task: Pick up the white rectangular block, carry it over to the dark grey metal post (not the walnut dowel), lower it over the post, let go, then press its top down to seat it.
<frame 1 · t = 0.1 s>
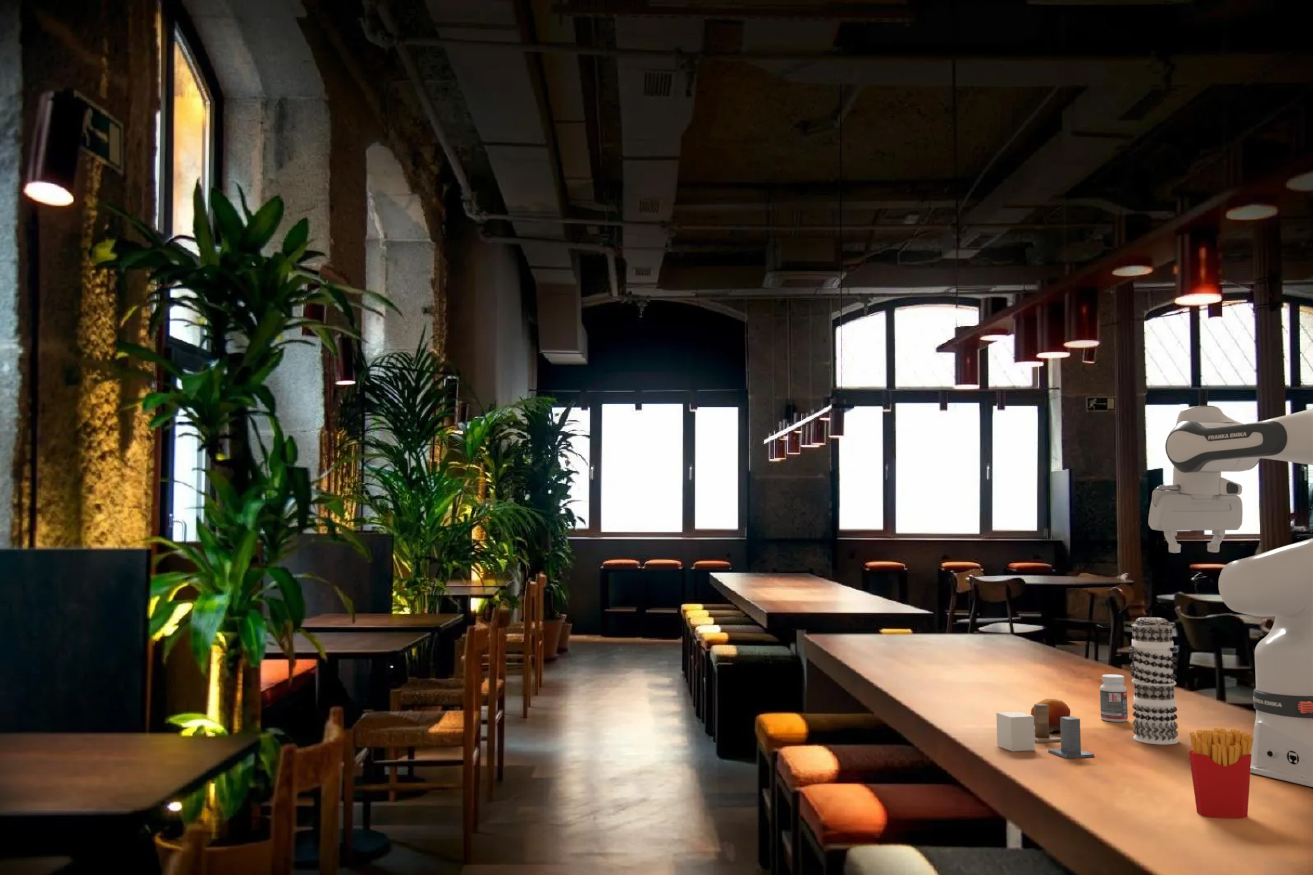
hand: (1193, 552, 225), 39 cm above the table, tool pointing down, fingers open, 8 cm apart
walnut dowel: (1042, 739, 228), on the table
fruit: (1051, 732, 237), on the table
post: (1070, 754, 214), on the table
french fries: (1223, 815, 172), on the table
white rectangular block: (1015, 747, 220), on the table
pill bottle: (1114, 721, 249), on the table
decorative candle: (1155, 741, 227), on the table
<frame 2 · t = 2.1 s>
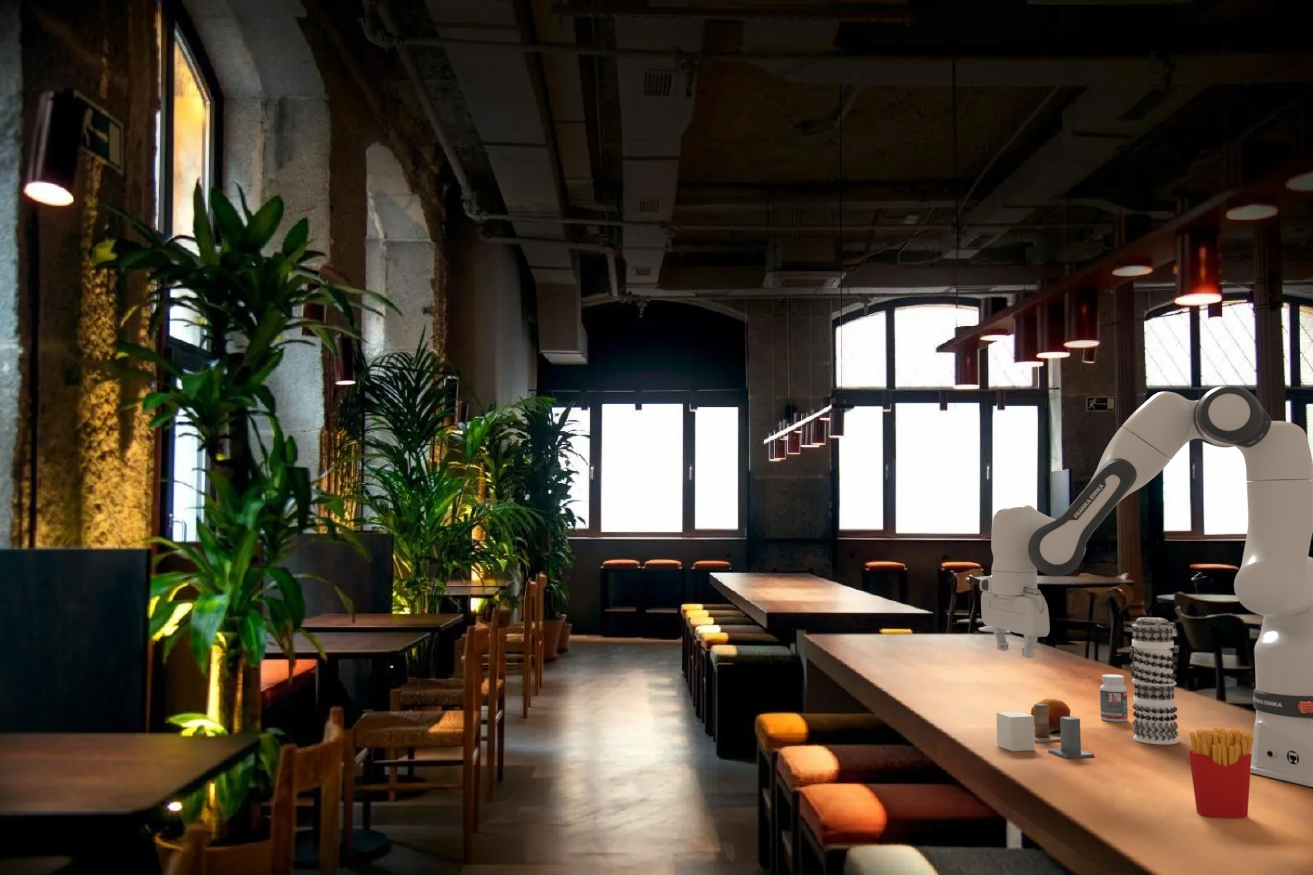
hand: (1015, 653, 222), 18 cm above the table, tool pointing down, fingers open, 8 cm apart
nothing on the table moved.
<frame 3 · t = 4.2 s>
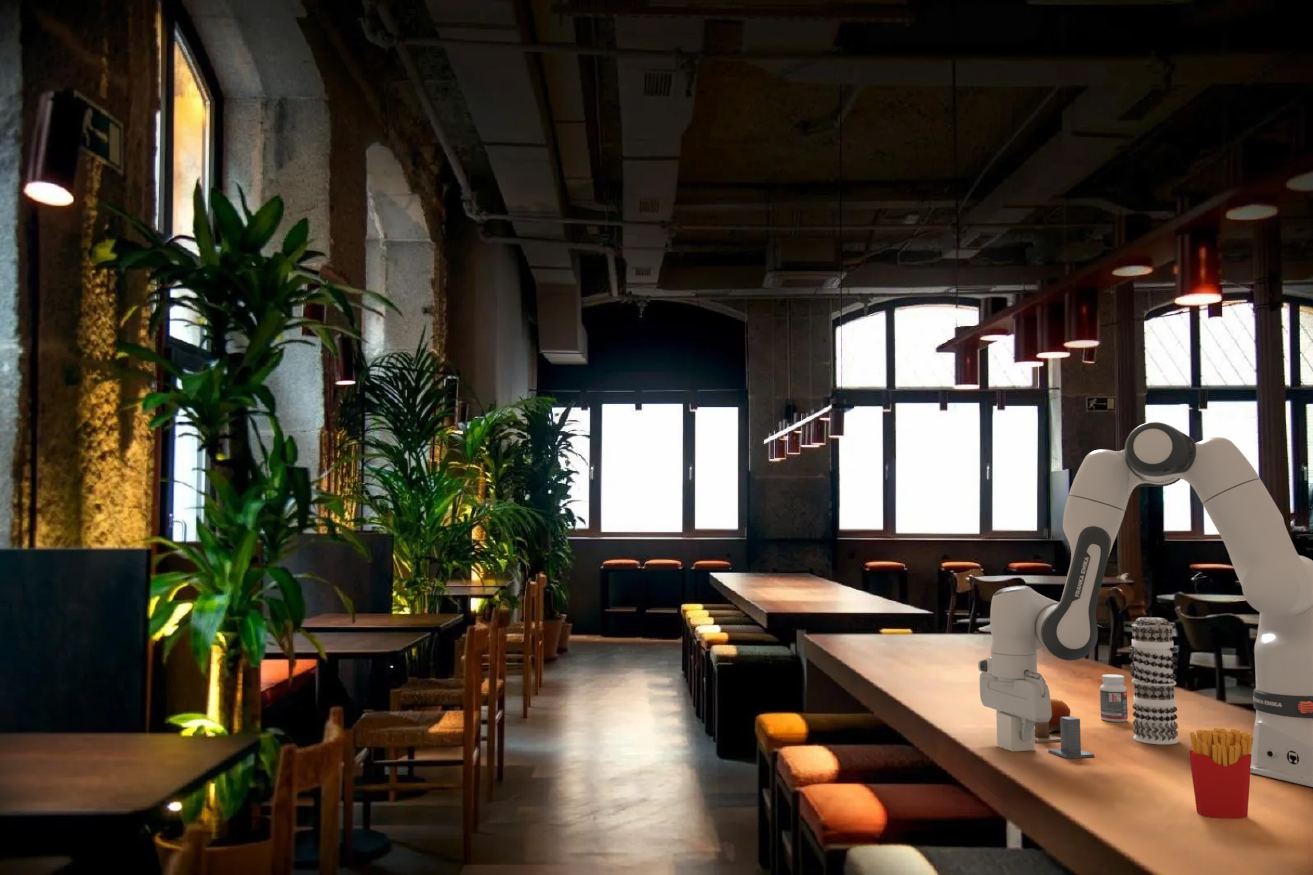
hand: (1015, 737, 220), 2 cm above the table, tool pointing down, fingers closed on white rectangular block, 5 cm apart
white rectangular block: (1015, 747, 220), on the table, touching gripper
everything else where it was.
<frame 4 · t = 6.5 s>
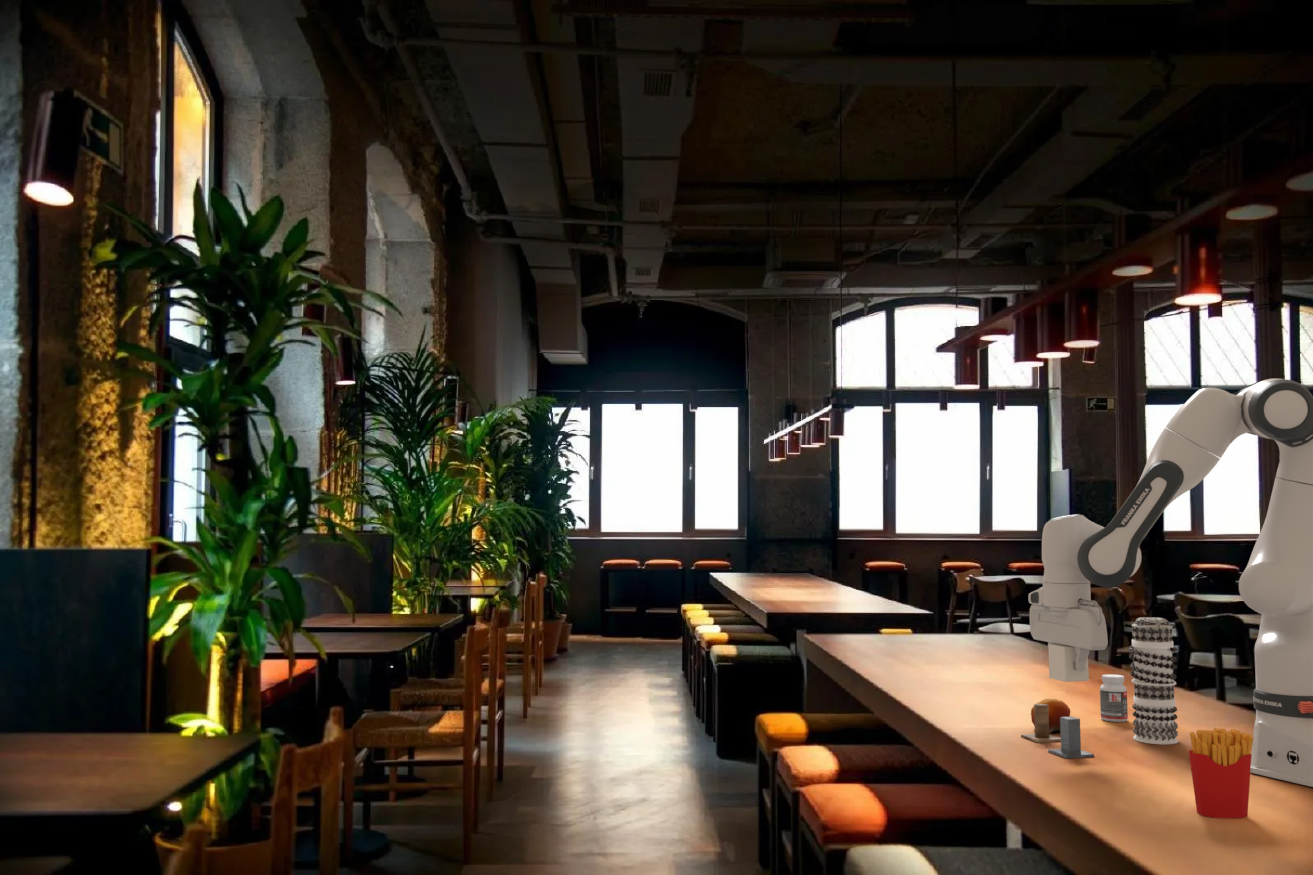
hand: (1068, 668, 215), 17 cm above the table, tool pointing down, fingers closed on white rectangular block, 5 cm apart
white rectangular block: (1068, 679, 215), point 14 cm above the table, touching gripper
everything else where it was.
when the fingers open (5 cm above the table, at t = 9.0 s): white rectangular block drops 1 cm, resting on post.
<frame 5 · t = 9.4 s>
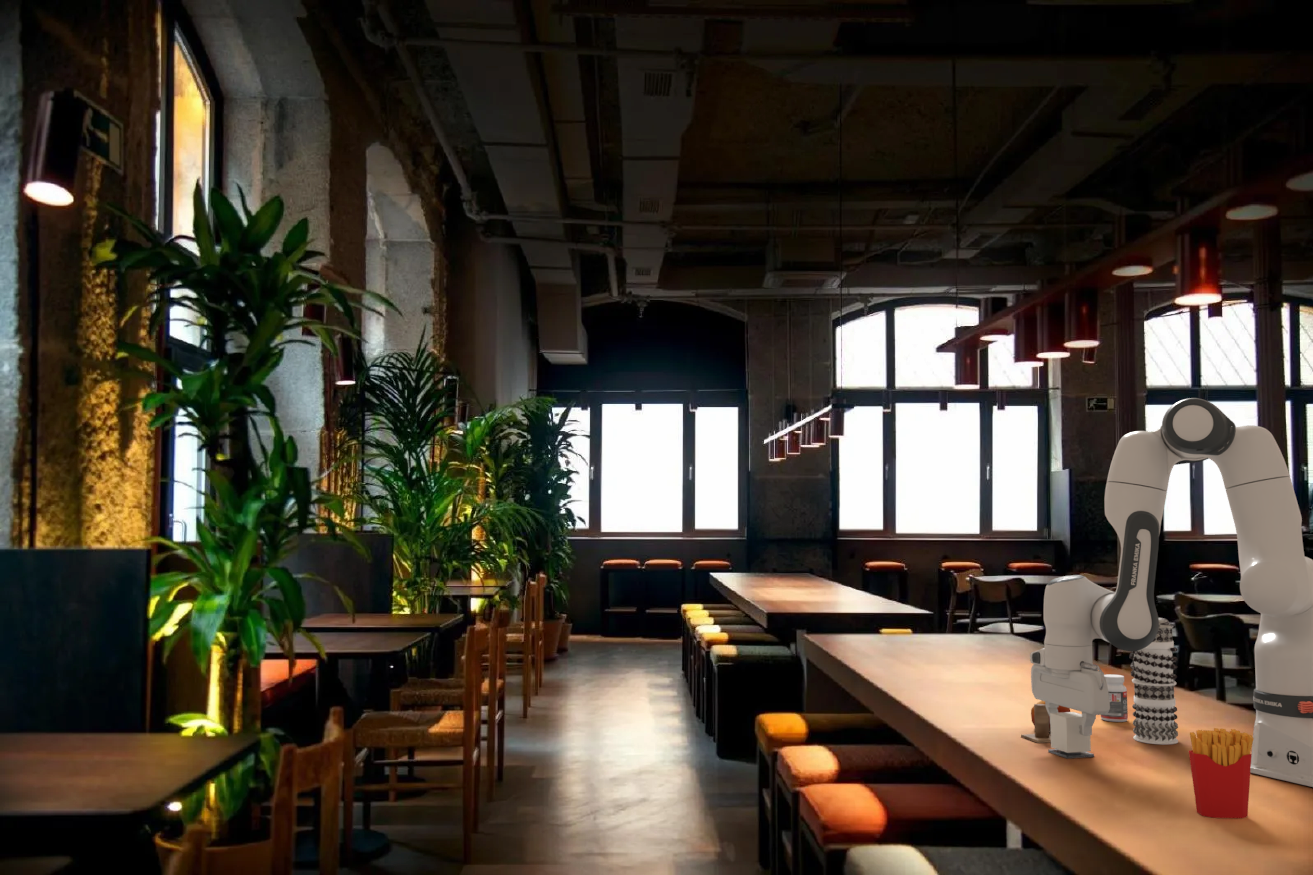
hand: (1070, 730, 214), 5 cm above the table, tool pointing down, fingers open, 8 cm apart
white rectangular block: (1070, 749, 214), point 1 cm above the table, touching post
everything else where it was.
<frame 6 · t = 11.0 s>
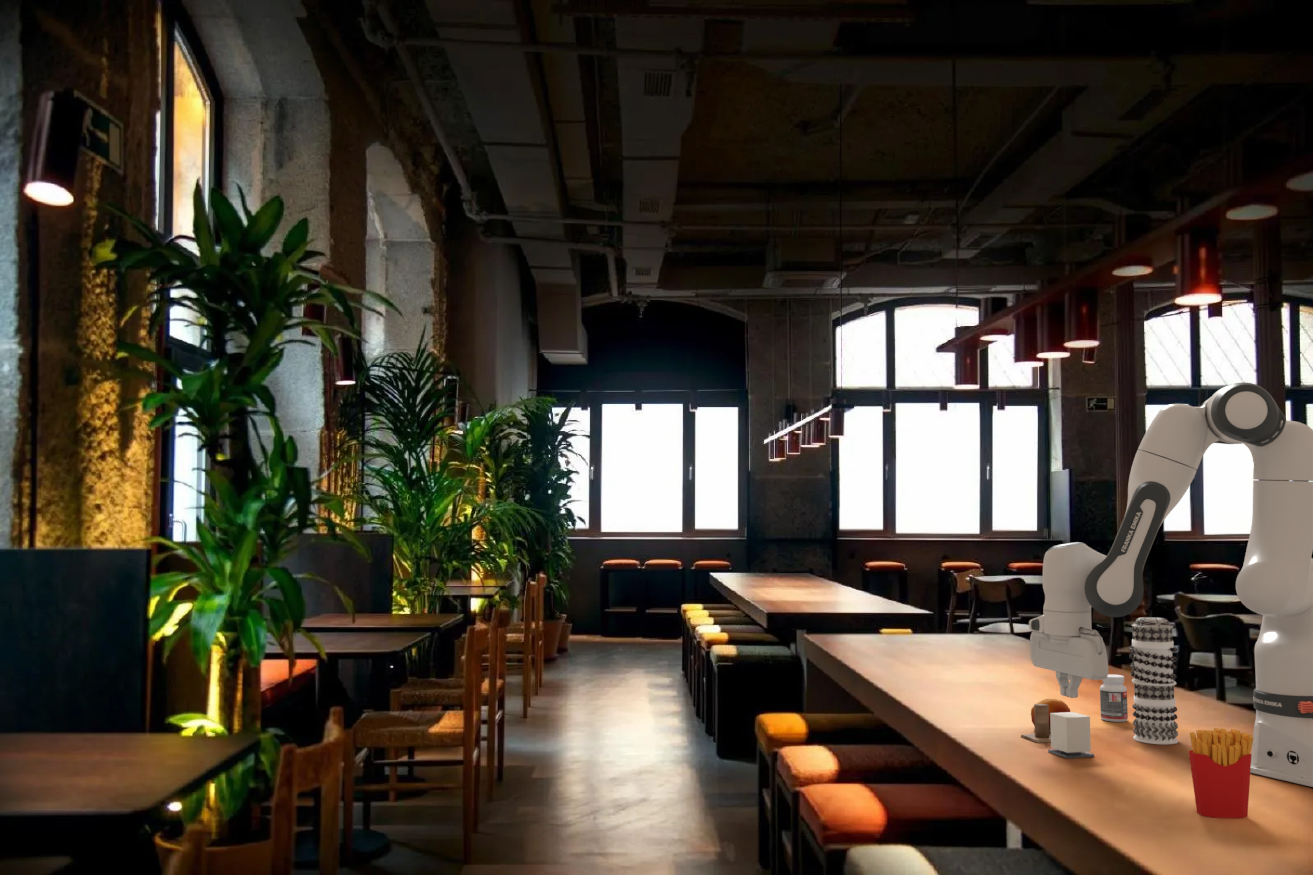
hand: (1069, 696, 215), 11 cm above the table, tool pointing down, fingers closed
nothing on the table moved.
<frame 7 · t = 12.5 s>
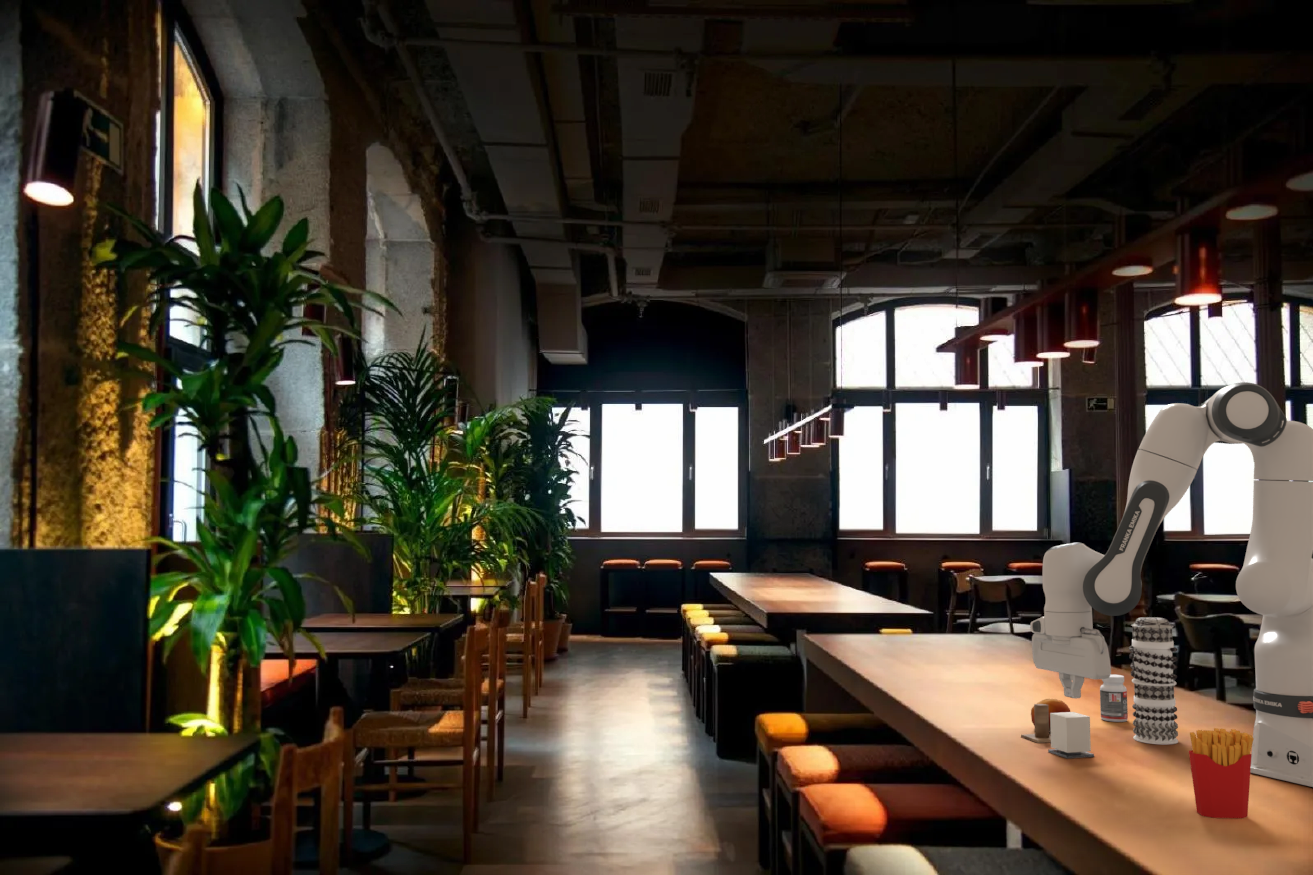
hand: (1072, 697, 214), 11 cm above the table, tool pointing down, fingers closed
nothing on the table moved.
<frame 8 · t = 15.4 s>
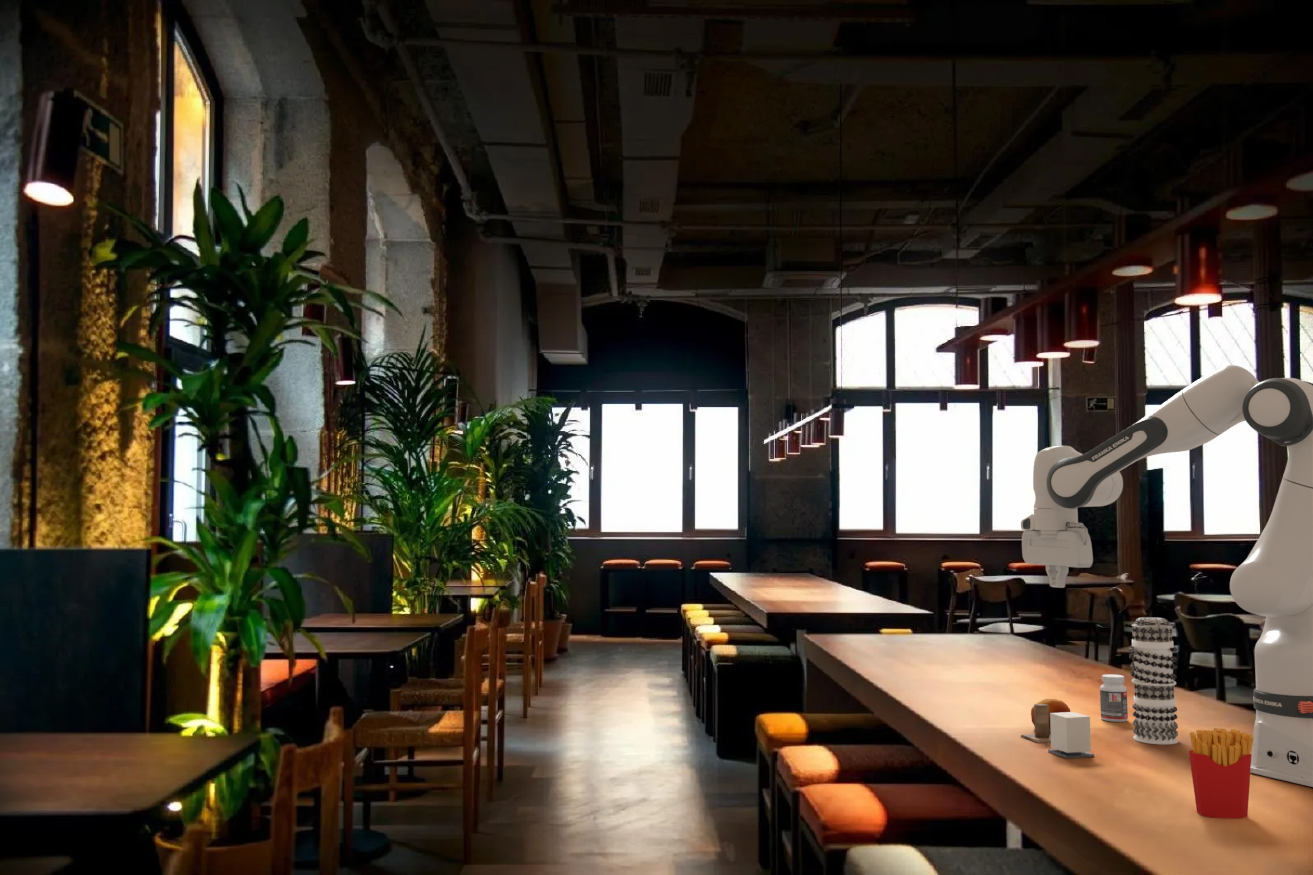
hand: (1057, 587, 234), 31 cm above the table, tool pointing down, fingers closed
nothing on the table moved.
at the end: white rectangular block 0.0 cm from the post (horizontally); white rectangular block point 1.0 cm above the table; white rectangular block tilted 0° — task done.
